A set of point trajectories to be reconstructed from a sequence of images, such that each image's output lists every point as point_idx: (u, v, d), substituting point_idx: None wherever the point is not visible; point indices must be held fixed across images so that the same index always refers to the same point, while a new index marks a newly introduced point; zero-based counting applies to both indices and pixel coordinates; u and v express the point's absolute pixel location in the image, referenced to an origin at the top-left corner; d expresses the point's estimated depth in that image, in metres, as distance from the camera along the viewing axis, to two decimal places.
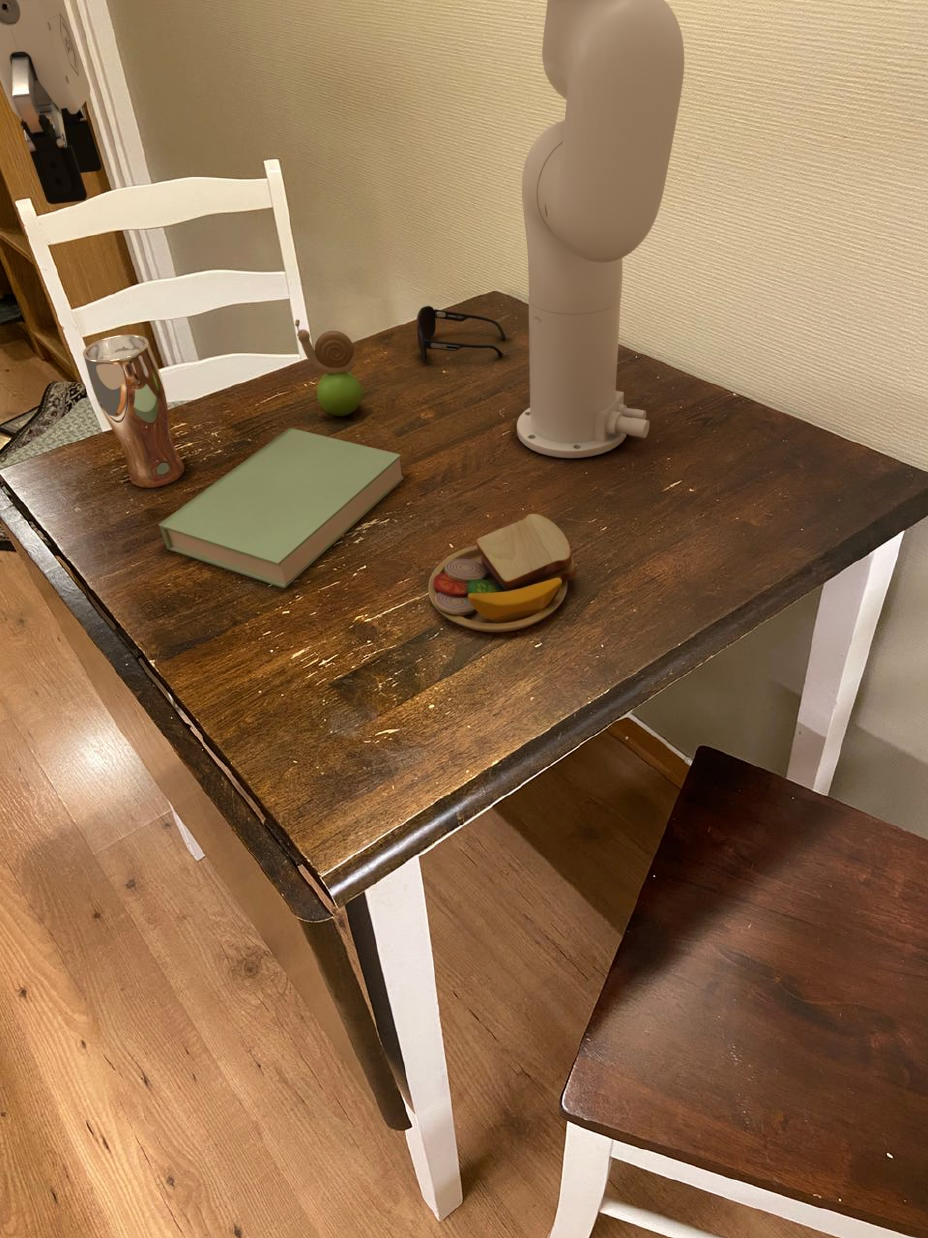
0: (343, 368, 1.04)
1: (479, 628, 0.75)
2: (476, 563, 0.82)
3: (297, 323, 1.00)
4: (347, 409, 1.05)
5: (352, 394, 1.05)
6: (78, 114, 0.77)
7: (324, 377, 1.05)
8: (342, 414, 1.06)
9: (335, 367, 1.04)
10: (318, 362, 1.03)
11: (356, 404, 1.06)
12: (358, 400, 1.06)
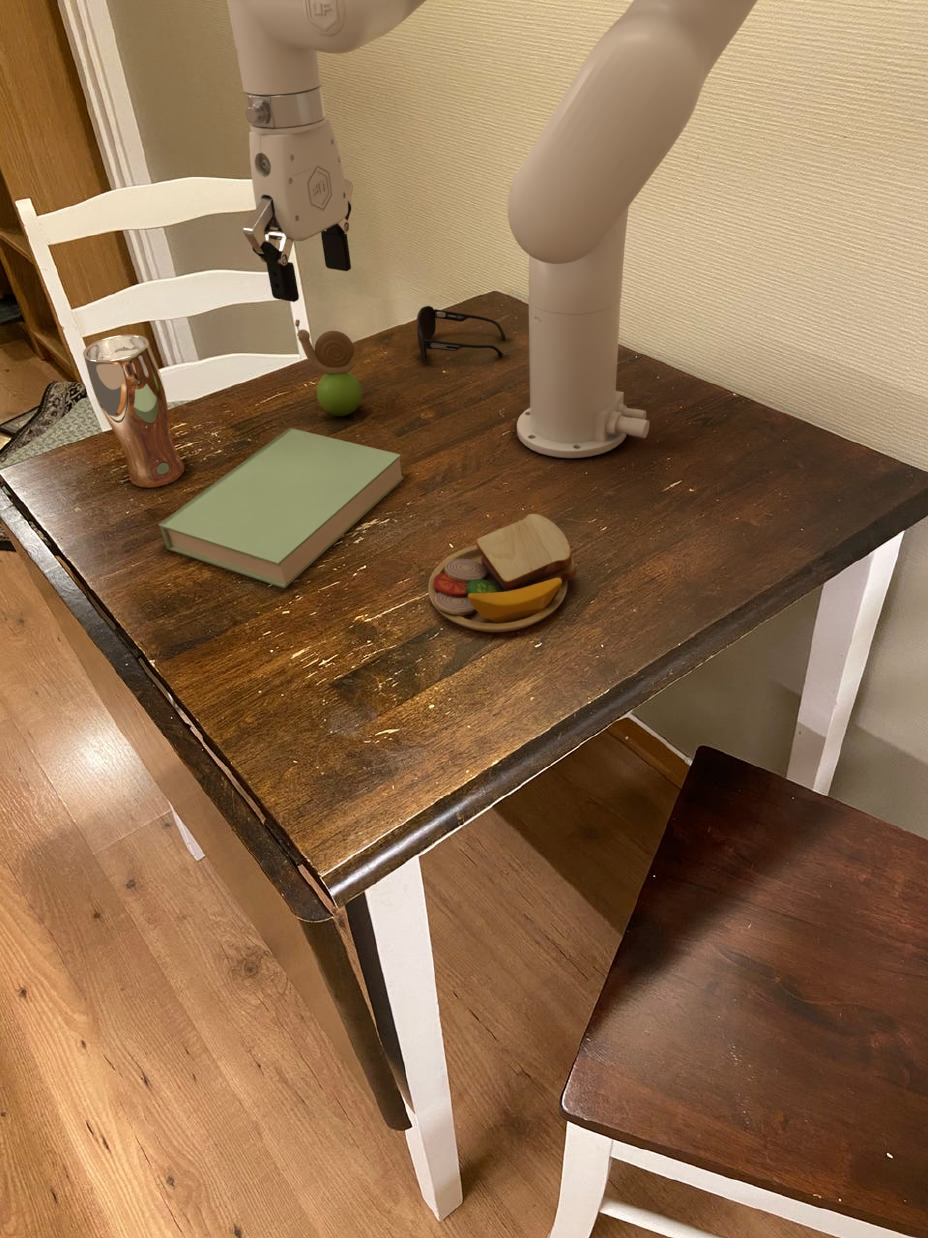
0: (343, 368, 1.04)
1: (479, 628, 0.75)
2: (476, 563, 0.82)
3: (297, 323, 1.00)
4: (347, 409, 1.05)
5: (352, 394, 1.05)
6: (340, 229, 0.98)
7: (324, 377, 1.05)
8: (342, 414, 1.06)
9: (335, 367, 1.04)
10: (318, 362, 1.03)
11: (356, 404, 1.06)
12: (358, 400, 1.06)
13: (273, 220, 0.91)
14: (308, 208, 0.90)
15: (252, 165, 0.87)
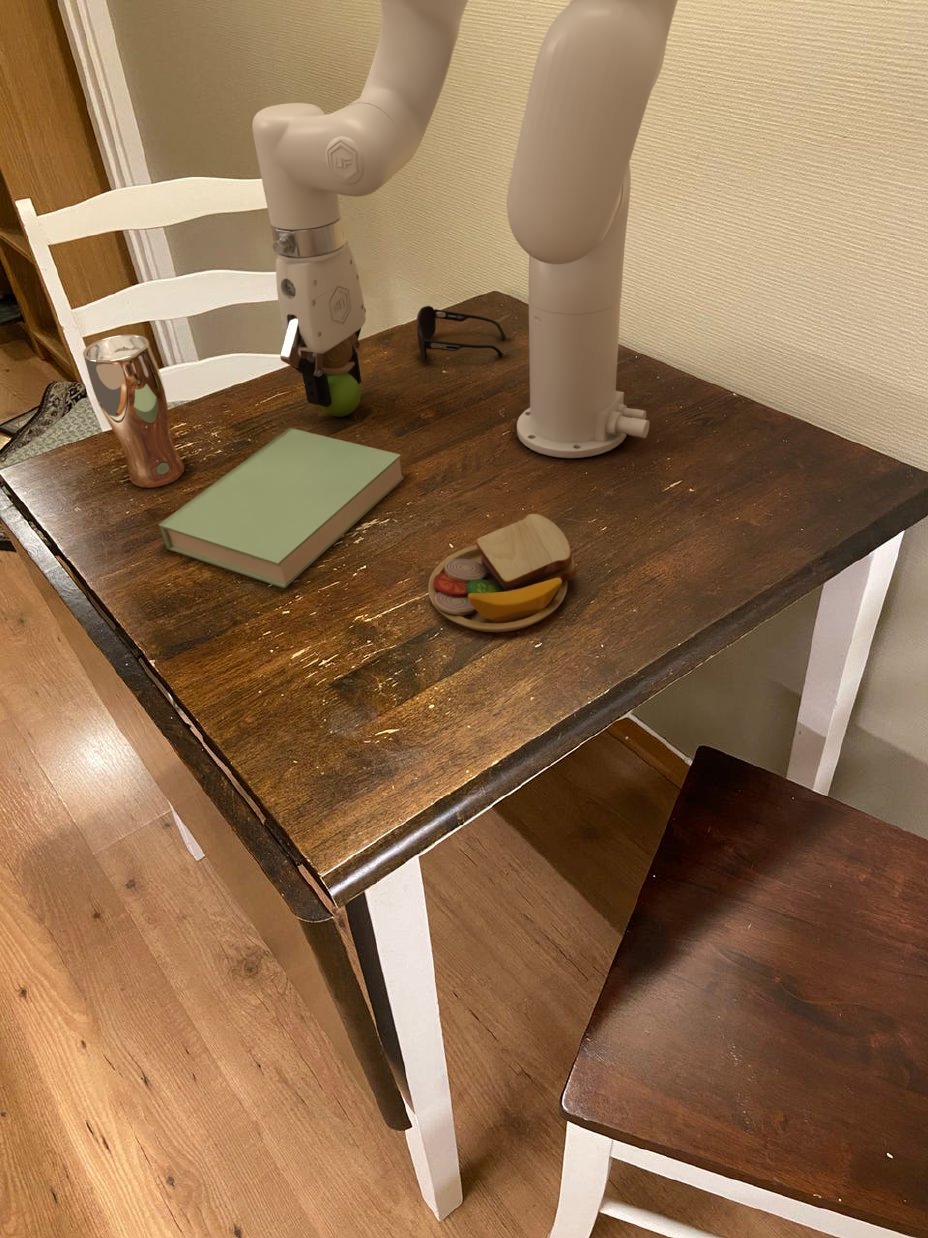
0: (342, 369, 1.04)
1: (479, 628, 0.75)
2: (476, 563, 0.82)
3: None
4: (346, 410, 1.05)
5: (350, 395, 1.04)
6: None
7: None
8: (341, 415, 1.06)
9: (333, 368, 1.04)
10: None
11: (355, 405, 1.06)
12: (357, 401, 1.06)
13: None
14: (329, 324, 0.98)
15: (278, 288, 0.95)
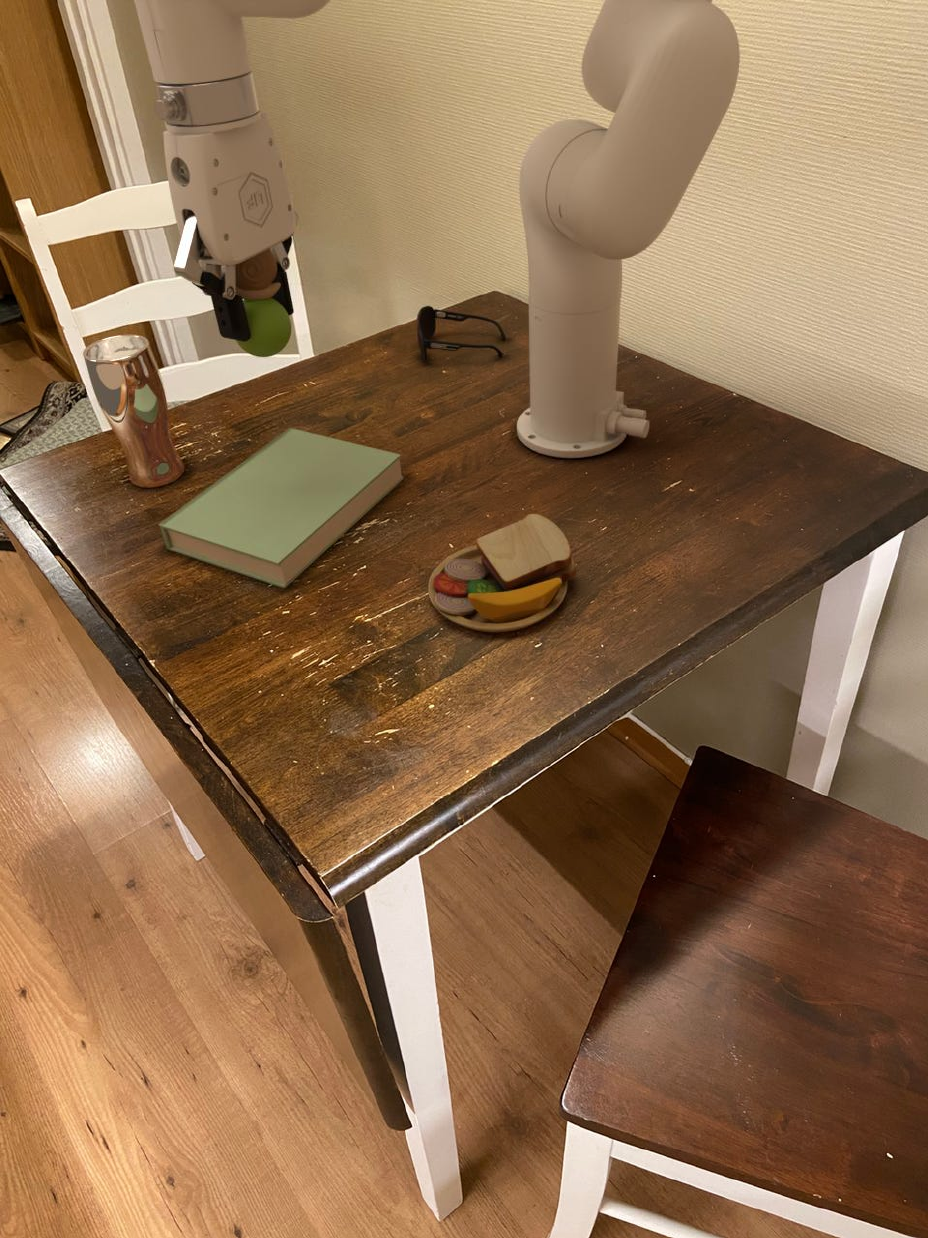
0: (264, 292, 0.79)
1: (479, 628, 0.75)
2: (476, 563, 0.82)
3: None
4: (271, 347, 0.80)
5: (276, 327, 0.79)
6: (277, 266, 0.80)
7: None
8: (265, 354, 0.81)
9: (253, 290, 0.79)
10: None
11: (283, 341, 0.81)
12: (285, 335, 0.81)
13: None
14: (241, 224, 0.73)
15: (168, 172, 0.70)
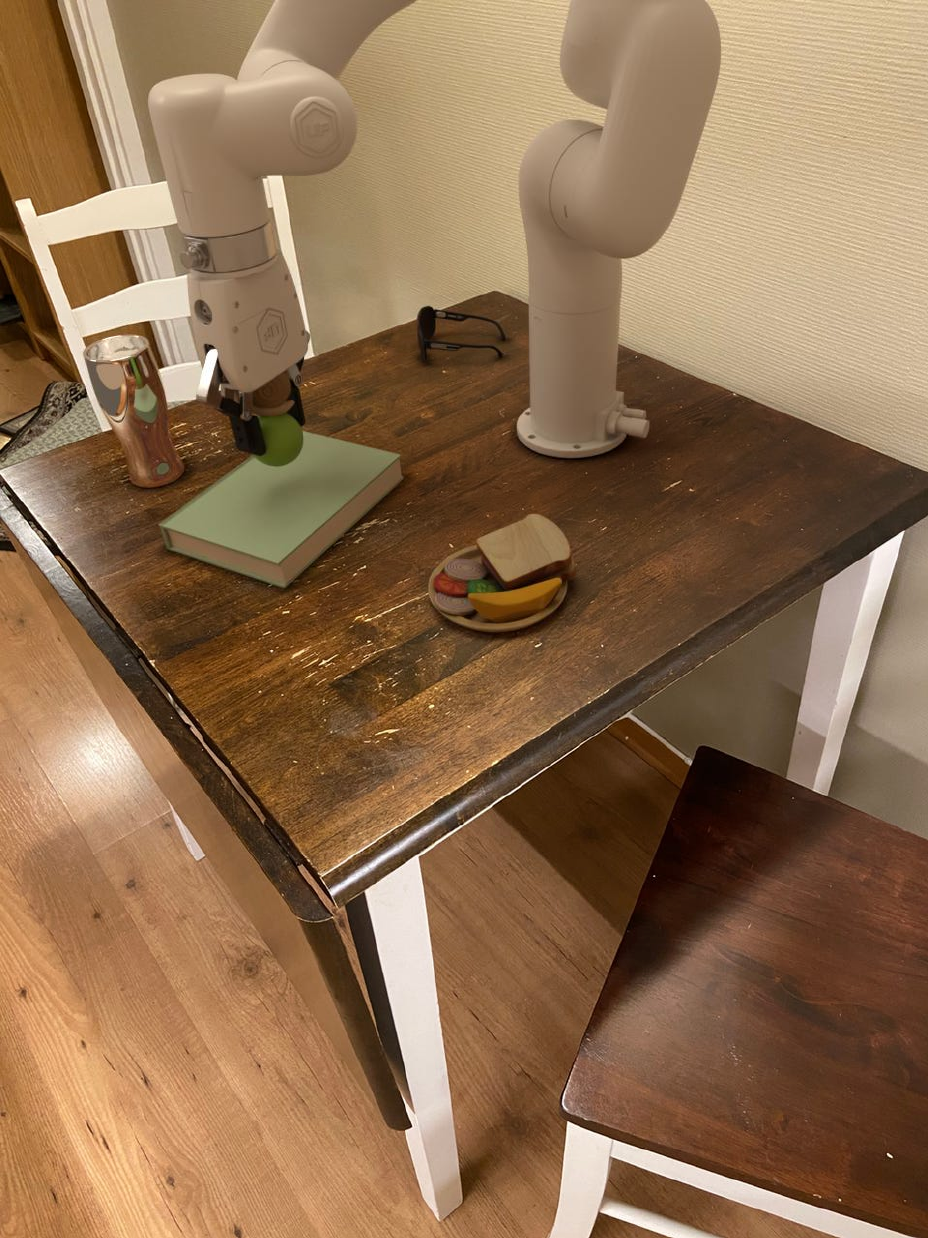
0: (278, 409, 0.84)
1: (479, 628, 0.75)
2: (476, 563, 0.82)
3: None
4: (284, 459, 0.85)
5: (289, 441, 0.84)
6: (290, 383, 0.85)
7: None
8: (278, 465, 0.86)
9: (268, 408, 0.83)
10: None
11: (295, 453, 0.86)
12: (298, 448, 0.86)
13: None
14: (259, 356, 0.77)
15: (191, 311, 0.75)
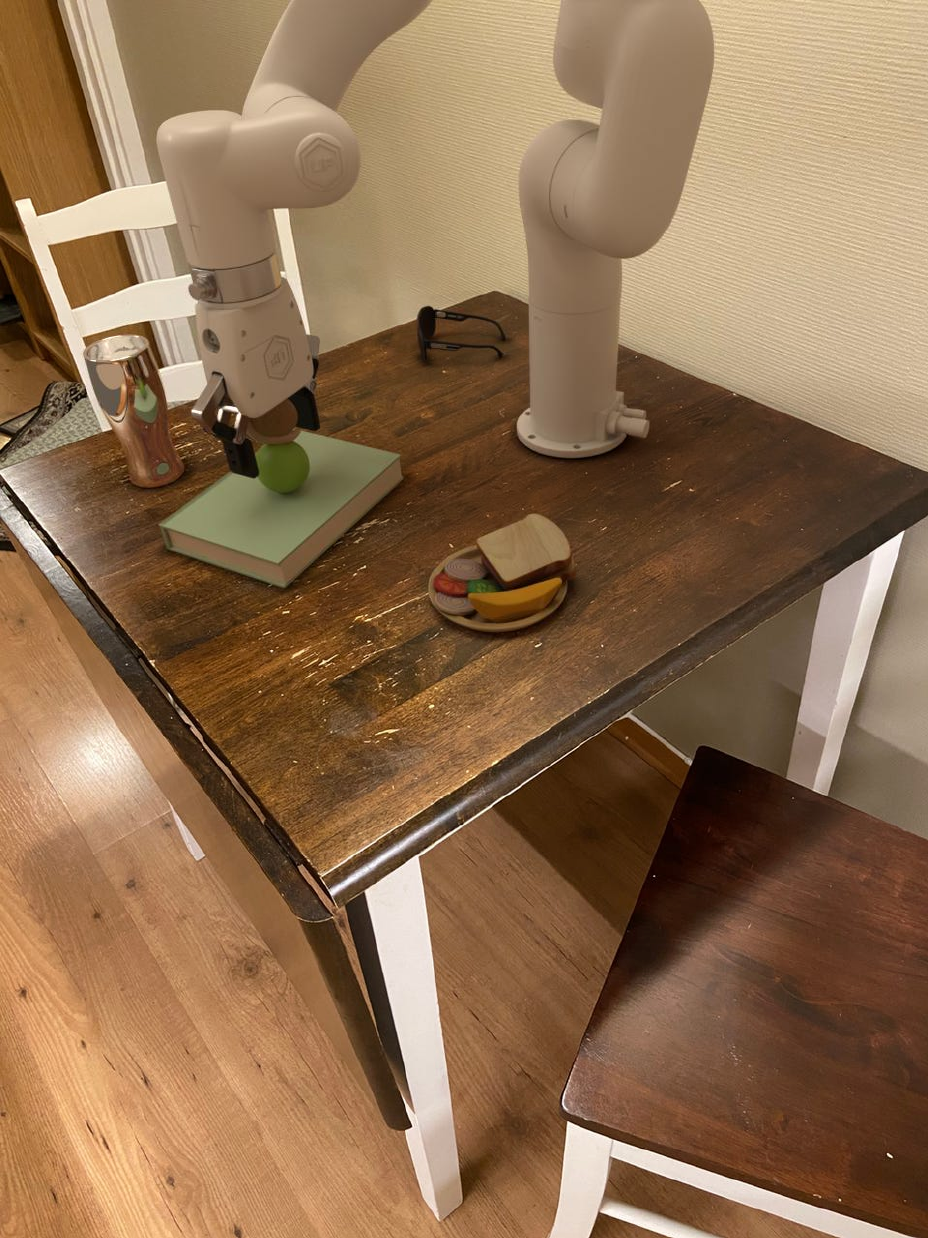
0: (285, 438, 0.86)
1: (479, 628, 0.75)
2: (476, 563, 0.82)
3: None
4: (291, 486, 0.87)
5: (296, 469, 0.86)
6: (306, 389, 0.87)
7: (263, 448, 0.87)
8: (285, 491, 0.88)
9: (275, 437, 0.86)
10: (255, 430, 0.85)
11: (302, 480, 0.88)
12: (304, 475, 0.88)
13: (227, 393, 0.81)
14: (265, 382, 0.79)
15: (200, 340, 0.77)
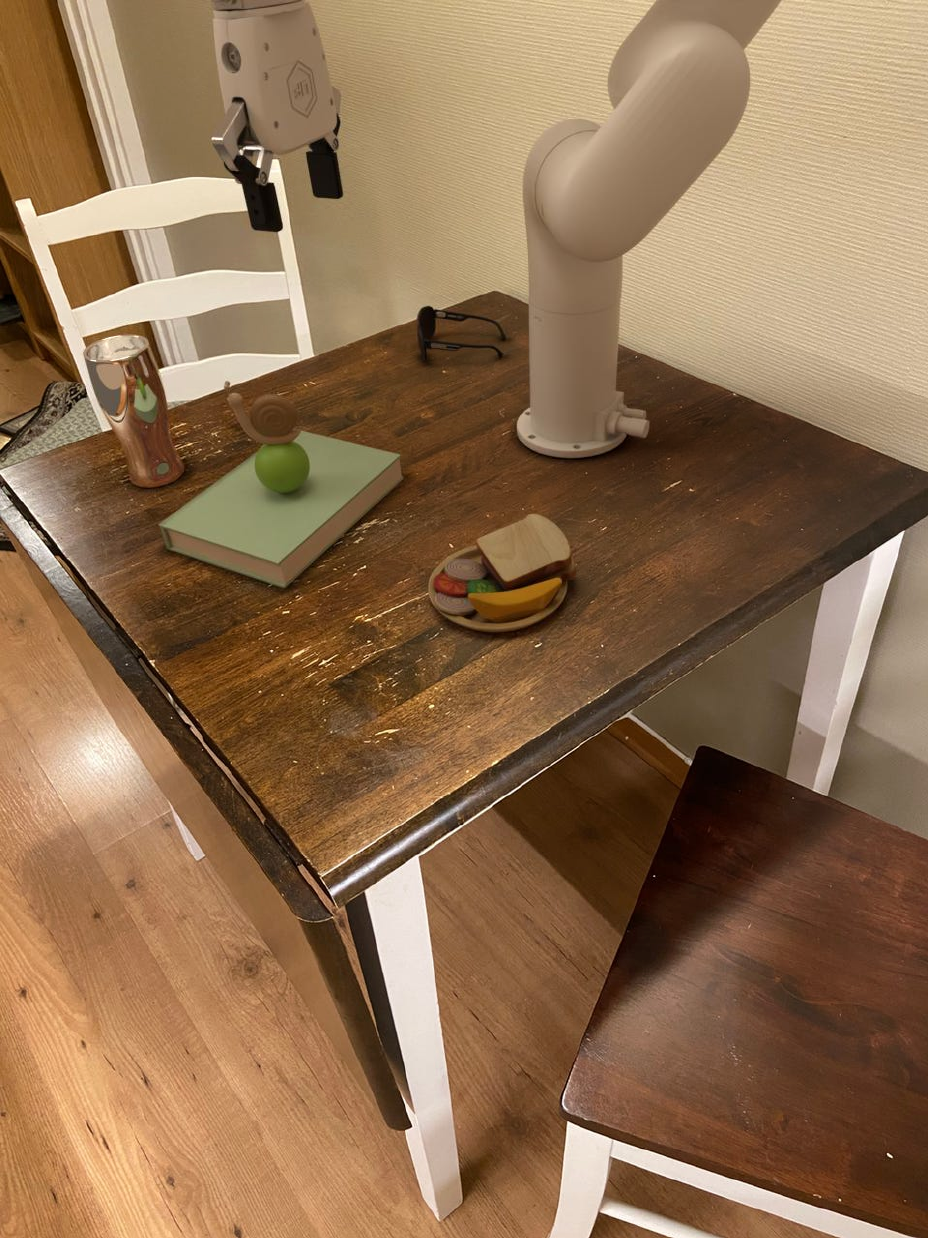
0: (285, 438, 0.86)
1: (479, 628, 0.75)
2: (476, 563, 0.82)
3: (226, 386, 0.82)
4: (291, 486, 0.87)
5: (296, 469, 0.86)
6: (328, 146, 0.82)
7: (263, 448, 0.87)
8: (285, 491, 0.88)
9: (275, 437, 0.85)
10: (255, 430, 0.85)
11: (302, 480, 0.88)
12: (304, 475, 0.88)
13: (248, 132, 0.75)
14: (289, 113, 0.74)
15: (218, 60, 0.71)
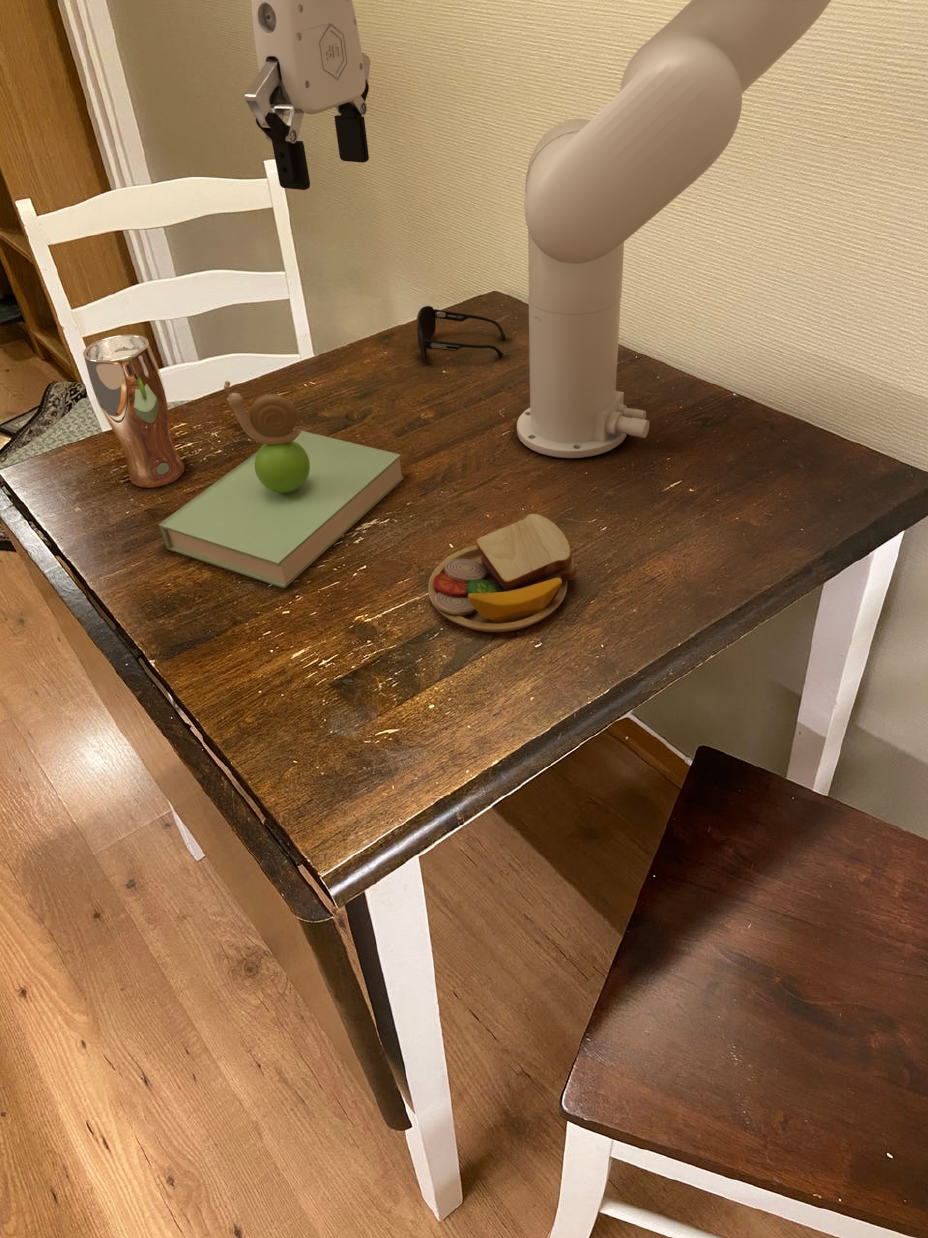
0: (285, 438, 0.86)
1: (479, 628, 0.75)
2: (476, 563, 0.82)
3: (226, 386, 0.82)
4: (291, 486, 0.87)
5: (296, 469, 0.86)
6: (356, 110, 0.85)
7: (263, 448, 0.87)
8: (285, 491, 0.88)
9: (275, 437, 0.85)
10: (255, 430, 0.85)
11: (302, 480, 0.88)
12: (304, 475, 0.88)
13: (280, 91, 0.79)
14: (320, 74, 0.77)
15: (254, 20, 0.75)
